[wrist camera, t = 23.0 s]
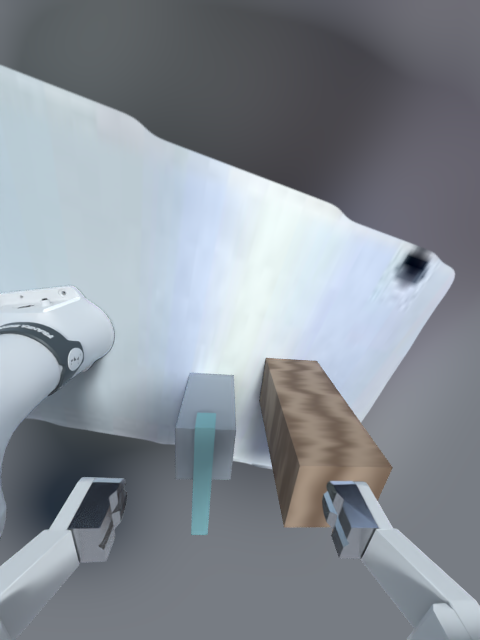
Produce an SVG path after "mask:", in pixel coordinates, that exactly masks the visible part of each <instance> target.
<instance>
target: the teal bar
mask: <svg viewBox="0 0 480 640" xmlns="http://www.w3.org/2000/svg"><path fill="white" fill-rule="evenodd" d="M215 424H216V413H197V418H196V424H195V440H194V470H193V501H192V530H191V535H207V534H208V520H209V507H210V506H209V505H210V492H211V480H212V466H213V452H214V439H215Z"/></svg>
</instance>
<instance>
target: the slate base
mask: <svg viewBox="0 0 480 640" xmlns="http://www.w3.org/2000/svg"><path fill="white" fill-rule="evenodd" d="M197 413H216V424H215V439H214V452H213V466H212V479H214V480H215V479H216V480H230V478H231V469H232V461H233V452H234V443H235V435H236V418H235V396H234V375H221V374H201V373H190V375H189V379H188V383H187V387H186V390H185V394H184V398H183V401H182V405H181V409H180V413H179V416H178V420H177V424H176V428H175V451H176V452H175V454H176V455H175V457H176V458H175V459H176V460H175V465H176V466H175V468H176V469H175V473H176V475H175V478H176V479H193V470H194V440H195V424H196V418H197Z"/></svg>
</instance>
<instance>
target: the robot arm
mask: <svg viewBox="0 0 480 640" xmlns="http://www.w3.org/2000/svg"><path fill="white" fill-rule="evenodd" d="M64 291H65V292H66V294H65V293H64ZM113 342H114V330H113V326H112V324H111V321H110V320H109V318H108V317H107V315H106V314H105V313H104V312H103V311H102V310H101V309H100V308H99V307H98V306H96V305H95V304H93V303H92V302H90V301H89V300H87V299H86V298H85V297H84V296H83V294H82V293H81V292H80V291H79V290H78V289H77V288H76V287H75V286H71V285H69V286H60V287H51V288H41V289H32V290H23V291H13V292H4V293H0V539H1V535H2V533H3V530H4V526H5V522H6V514H7V505H6V502H5V499H4V495H3V490H2V479H1V478H2V465H3V458H4V454H5V451H6V448H7V445H8V442H9V440H10V438H11V436H12V434H13V433H14V431H15V429H16V428H17V427H18V425H19V424H20V423H21V422H22V421H23V420H24V419H25V417H26V416H27V415H28V414H29V413H30V412H31V411H32V410H33V409H34V408H35V407H36V406H37V405H38V404H39V403H40V402H41V401H42V400H43V399H44V398H45V397H47V396H49V395H51V394H53V393H55V392H56V391H57V390H59V389H60V388H62V387H63V385H64V384H65V383H67V382H68V381H69V380H70V379H71V378H73V377H74V376H76V375H77V374H78V373H80V372H84V371H86V370H88V369H89V368H90V367H91V366H92V364H93V363H94V361H96V360H98V359H99V358H101V357H103V356H104V355H106V354H107V353H108V352H109V350H110V349H111V347H112V345H113ZM125 485H126V483H125V478H97V477H83V478H81V479H80V480H79V482H78V483H77V484H76V486H75V488H74V489H73V491H72V492H71V494H70V496H69V497H68V499H67V501H66V502H65V504H64V506H63V507H62V509H61V510H60V512H59V514H58V515H57V517H56V519H55V520H54V522H53V524H52V525H51V527H50V529H49V530H43V531H42V532H41V533H40V534H39V535H37V536H36V537H35V538H34V539H33V540H31V541H30V542H29V543H28V544H27V545H25V546H24V547H23V548H22V549H21V550H19V551H18V552H17V553H16V554H15V555H14V556H12V557H11V558H10V559H9V560H7V561H6V562H5V563H4V564H3V565H2V566H0V640H16V638H17V637H18V636H19V635H20V634H21V633H22V632H23V630H24V629H25V628H26V627H27V626H28V624H29V623H30V622H31V621H32V620H33V619H34V617H35V616H36V615H37V614H38V613H39V612H40V610H41V609H42V608H43V607H44V606H45V604H46V603H47V602H48V601H49V600H50V599H51V598H52V596H53V595H54V594H55V593H56V592H57V590H58V589H59V588H60V587H61V586H62V585H63V583H64V582H65V581H66V580H67V579H68V578H69V576H70V575H71V574H72V573H73V572H74V570H75V569H76V568H77V567H78V566H79V563H83V562H103V561H106V560H107V558H108V555H109V552H110V549H111V546H112V544H113V542H114V539H115V532H114V529H115V528H116V526H117V525H118V524H119V523H120V522H121V520H122V517H123V514H124V511H125V507H126V502H127V492H126V491H125V490H124V487H125ZM326 488H327V492H326V493H324V494H323V498H322V508H323V513H324V516H325V519H326V522H327V523H328V524H329V525H330V527H331V528H332V534H331V537H332V540H333V542H334V545H335V548H336V551H337V553H338V557H339V558H351V559H361V561H362V562H363V564H364V565H365V566H366V567H367V569H368V570H369V571H370V573H371V574H372V575H373V576H374V578H375V579H376V580H377V581H378V583H379V584H380V585H381V587H382V588H383V589H384V590H385V592H386V593H387V594H388V595H389V597H390V598H391V599H392V601H393V602H394V603H395V605H396V606H397V607H398V608H399V609H400V611H401V612H402V614H403V615H404V616H405V617H406V618H407V620H408V621H409V623H410V624H411V625H412V626H413V628H414V630H413V632H412V633H411V634H410V636H409V637H408V638H407V640H480V606H479V604H478V603H477V601H476V600H475V599H474V598H472V597H471V596H470V595H469V594H468V593H467V592H466V591H465V590H464V589H462V588H461V587H460V586H459V585H458V584H457V583H456V582H455V581H454V580H453V579H452V578H450V577H449V576H448V575H447V574H446V573H445V572H444V571H443V570H442V569H440V568H439V567H438V566H437V565H436V564H435V563H434V562H433V561H432V560H431V559H430V558H428V557H427V556H426V555H425V554H424V553H423V552H422V551H421V550H420V549H418V548H417V547H416V546H415V545H414V544H413V543H412V542H411V541H410V540H409V539H408V538H406V537H405V536H404V535H403V534H402V533H401V532H400V531H399V530H398V529H393V527H392V526H391V524H390V522H389V521H388V519H387V517H386V515H385V514H384V512H383V510H382V508H381V507H380V505H379V503H378V501H377V499H376V498H375V496H374V494H373V492H372V491H371V489H370V487H369V485H368V484H367V483H366V482H363V481H329V482H328V483H327V485H326Z"/></svg>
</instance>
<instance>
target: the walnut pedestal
mask: <svg viewBox="0 0 480 640" xmlns="http://www.w3.org/2000/svg"><path fill="white" fill-rule="evenodd" d="M259 401H260V406H261V411H262V417H263V422H264V427H265V432H266V437H267V442H268V447H269V452H270V458H271V463H272V468H273V473H274V478H275V483H276V488H277V494H278V499H279V504H280V509H281V514H282V519H283V524H284V527H330V525H329V524H328V523H327V522H326V519H325V516H324V513H323V508H322V498H323V494H324V493H326V492H327V488H326V485H327V483H328V482H329V481H363V482H366V483H367V484H368V485H369V487H370V489H371V491H372V492H373V494H374V496H375V498H376V499H377V501H378V498H379V496H380V494H381V492H382V489H383V488H384V485H385V483H386V481H387V479H388V476H389V474H390V472H391V470H392V466H391V465H390V463H389V462H388V460H387V459H386V458H385V456H384V455H383V453H382V452H381V451H380V449H379V448H378V447H377V445H376V444H375V442H374V441H373V439H372V438H371V437H370V435H369V434H368V432H367V431H366V430H365V429H364V427H363V425H362V424H361V422H360V421H359V420H358V418H357V417H356V415H355V414H354V413H353V411H352V410H351V408H350V407H349V406H348V404H347V403H346V401H345V400H344V399H343V397H342V396H341V394H340V393H339V392H338V390H337V389H336V387H335V386H334V385H333V383H332V382H331V380H330V379H329V377H328V376H327V375H326V373H325V372H324V370H323V369H322V368H321V366H320V365H319V363H318V362H317V361H308V360H291V359H274V358H266V361H265V368H264V374H263V381H262V387H261V394H260V400H259Z"/></svg>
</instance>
